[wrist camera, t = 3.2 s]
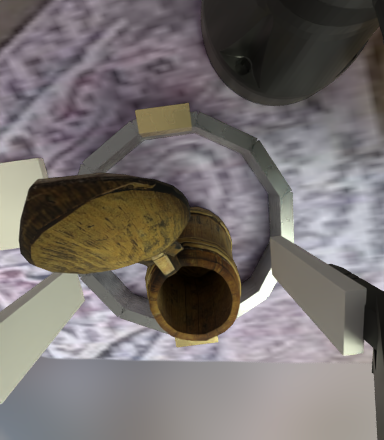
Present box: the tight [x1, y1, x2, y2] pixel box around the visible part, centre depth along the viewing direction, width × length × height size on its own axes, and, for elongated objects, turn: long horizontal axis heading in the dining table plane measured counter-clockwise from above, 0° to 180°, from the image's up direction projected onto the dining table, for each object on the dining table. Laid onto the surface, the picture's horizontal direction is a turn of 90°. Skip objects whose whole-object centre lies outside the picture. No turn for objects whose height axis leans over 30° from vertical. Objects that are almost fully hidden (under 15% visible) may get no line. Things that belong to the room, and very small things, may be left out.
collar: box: [78, 103, 294, 347], centre depth 21 cm, size 23×22×5 cm
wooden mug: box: [19, 173, 241, 341], centre depth 15 cm, size 9×14×18 cm, turn 29°
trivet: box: [0, 158, 48, 250], centre depth 22 cm, size 9×9×1 cm
